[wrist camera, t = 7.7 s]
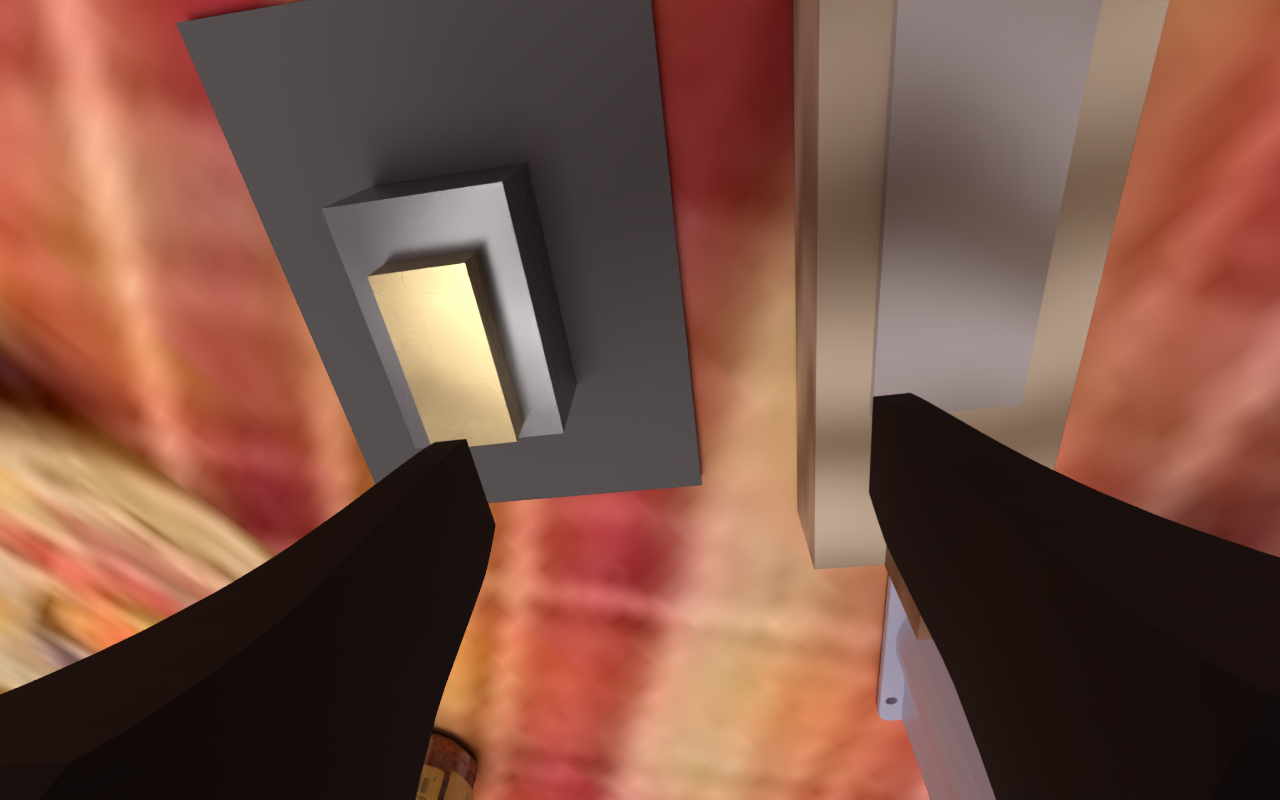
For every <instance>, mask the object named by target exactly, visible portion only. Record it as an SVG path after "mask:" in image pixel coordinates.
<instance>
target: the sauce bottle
mask: <svg viewBox="0 0 1280 800" xmlns="http://www.w3.org/2000/svg"><path fill="white" fill-rule="evenodd" d="M476 773H477V767H476V761H475V760H474V759H473V758H472V756H471V755H470V754H469V753H468V752H467V751H465V750H464V749H463V748H462V747H461V746H460V745H459V744H458V743H456V742H455V741H453V740H452V739H450V738H447V737H444V736H442V735H440V734H437V733H435V734H434V733H432V734H431V738H430V742H429V746H428V750H427V754H426V758H425V762H424V766H423V770H422V774H421V778H420V783H419V787H418V792H417V796H416V800H474V796H473V791H472V790H473V785H474V783H475V779H476Z"/></svg>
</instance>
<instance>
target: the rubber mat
mask: <svg viewBox="0 0 1280 800" xmlns="http://www.w3.org/2000/svg"><path fill="white" fill-rule="evenodd" d="M176 24H177V26H178V29H179V31H180V33H181V36H182V38H183V40H184V43H185V45H186V47H187V49H188V52H189V54H190V56H191V59H192V61H193V63H194V66H195V68H196V70H197V73H198V75H199V77H200V79H201V82H202V84H203V86H204V89H205V91H206V93H207V96H208V98H209V100H210V103H211V105H212V107H213V110H214V112H215V114H216V116H217V119H218V121H219V123H220V126H221V128H222V130H223V133H224V135H225V137H226V140H227V142H228V144H229V146H230V149H231V151H232V153H233V156H234V158H235V160H236V163H237V165H238V167H239V170H240V172H241V174H242V177H243V179H244V181H245V183H246V186H247V188H248V190H249V193H250V195H251V197H252V200H253V202H254V204H255V207H256V209H257V211H258V214H259V216H260V218H261V220H262V223H263V225H264V227H265V230H266V232H267V234H268V237H269V239H270V241H271V244H272V246H273V248H274V250H275V253H276V255H277V257H278V260H279V262H280V264H281V267H282V269H283V271H284V274H285V276H286V278H287V281H288V283H289V285H290V287H291V290H292V292H293V294H294V297H295V299H296V301H297V304H298V306H299V308H300V311H301V313H302V315H303V317H304V320H305V322H306V324H307V327H308V329H309V331H310V334H311V336H312V338H313V341H314V343H315V345H316V348H317V350H318V352H319V354H320V357H321V359H322V361H323V364H324V366H325V368H326V371H327V373H328V375H329V378H330V380H331V382H332V384H333V387H334V389H335V391H336V394H337V396H338V398H339V401H340V403H341V405H342V408H343V410H344V412H345V415H346V417H347V419H348V421H349V424H350V426H351V428H352V431H353V433H354V435H355V438H356V440H357V442H358V445H359V447H360V449H361V452H362V454H363V456H364V458H365V461H366V463H367V465H368V468H369V470H370V472H371V475H372V477H373V479H374V482H375V484H377V483H378V482H379V481H381V480H382V479H383V478H385V477H386V476H387V475H389V474H390V473H391V472H392V471H394V470H395V469H396V468H398V467H399V466H400V465H402V464H403V463H404V462H406V461H407V460H408V459H410V458H411V457H413V456H414V455H415V454H417V453H418V452H420V451H421V450H423V449H424V448H417V449H416V448H415V446H414V443H413V441H412V438H411V436H410V433H409V430H408V428H407V425H406V423H405V420H404V418H403V415H402V413H401V410H400V408H399V405H398V402H397V400H396V397H395V395H394V392H393V390H392V387H391V385H390V382H389V380H388V377H387V374H386V372H385V369H384V367H383V364H382V362H381V359H380V357H379V354H378V352H377V349H376V346H375V344H374V341H373V339H372V336H371V334H370V331H369V329H368V326H367V324H366V321H365V318H364V316H363V313H362V311H361V308H360V306H359V303H358V301H357V298H356V296H355V293H354V290H353V288H352V285H351V283H350V280H349V278H348V275H347V273H346V270H345V268H344V265H343V262H342V260H341V257H340V255H339V252H338V250H337V247H336V245H335V242H334V240H333V237H332V234H331V232H330V229H329V227H328V224H327V222H326V219H325V217H324V214H323V212H322V208H324V207H327V206H329V205H331V204H333V203H335V202H338V201H340V200H342V199H344V198H347V197H349V196H351V195H353V194H356V193H358V192H360V191H362V190H365V189H367V188H369V187H371V186H374V185H380V184H387V183H393V182H400V181H406V180H413V179H419V178H426V177H432V176H439V175H446V174H452V173H459V172H465V171H472V170H478V169H485V168H491V167H498V166H505V165H511V164H518V163H524V162H528V166H529V171H530V175H531V180H532V184H533V189H534V193H535V198H536V202H537V206H538V211H539V215H540V220H541V224H542V229H543V233H544V238H545V242H546V247H547V251H548V256H549V260H550V265H551V269H552V274H553V278H554V283H555V287H556V292H557V296H558V301H559V305H560V310H561V314H562V319H563V323H564V328H565V332H566V337H567V341H568V346H569V350H570V355H571V359H572V364H573V368H574V373H575V377H576V382H577V386H576V390H575V393H574V397H573V401H572V405H571V408H570V412H569V416H568V419H567V423H566V427H565V430H564V433H561V434H551V435H541V436H532V437H522V438H518V440H517V442H509V443H499V444H489V445H480V446H470V447H469V448H470V451H471V454H472V457H473V460H474V463H475V466H476V469H477V472H478V475H479V478H480V481H481V484H482V487H483V490H484V493H485V496H486V499H487V501H488V503H494V502H506V501H518V500H530V499H542V498H554V497H566V496H578V495H590V494H602V493H614V492H626V491H638V490H650V489H662V488H674V487H686V486H698V485H702V482H701V471H700V462H699V452H698V442H697V433H696V423H695V414H694V404H693V395H692V385H691V376H690V366H689V357H688V347H687V337H686V328H685V318H684V309H683V299H682V290H681V280H680V271H679V261H678V251H677V242H676V232H675V223H674V213H673V204H672V194H671V185H670V175H669V166H668V156H667V146H666V137H665V127H664V118H663V108H662V99H661V89H660V80H659V70H658V60H657V51H656V41H655V32H654V22H653V13H652V3H651V0H306V1H300V2H294V3H288V4H283V5H277V6H271V7H265V8H259V9H254V10H248V11H242V12H236V13H231V14H225V15H219V16H213V17H207V18H202V19H196V20H190V21H184V22H179V23H176Z"/></svg>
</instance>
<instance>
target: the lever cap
mask: <svg viewBox="0 0 1280 800" xmlns="http://www.w3.org/2000/svg"><path fill="white" fill-rule="evenodd" d="M322 212H323V214H324V217H325V219H326V222H327V224H328V227H329V229H330V232H331V234H332V237H333V240H334V242H335V245H336V247H337V250H338V252H339V255H340V257H341V260H342V262H343V265H344V268H345V270H346V273H347V275H348V278H349V280H350V283H351V285H352V288H353V290H354V293H355V296H356V298H357V301H358V303H359V306H360V308H361V311H362V313H363V316H364V318H365V321H366V324H367V326H368V329H369V331H370V334H371V336H372V339H373V341H374V344H375V346H376V349H377V352H378V354H379V357H380V359H381V362H382V364H383V367H384V369H385V372H386V374H387V377H388V380H389V382H390V385H391V387H392V390H393V392H394V395H395V397H396V400H397V402H398V405H399V408H400V410H401V413H402V415H403V418H404V420H405V423H406V425H407V428H408V430H409V433H410V436H411V438H412V441H413V443H414V446H415V448H416V449H417V448H426V447H427V446H429V445H431V444H432V443H434V442H440V441H450V440H459V439H467V442H468V445H469V447H470V446H480V445H489V444H499V443H509V442H517V440H518V438H522V437H532V436H541V435H551V434H561V433H564V430H565V427H566V423H567V419H568V416H569V412H570V408H571V405H572V401H573V397H574V393H575V390H576V386H577V382H576V377H575V373H574V368H573V364H572V359H571V355H570V350H569V346H568V341H567V337H566V332H565V328H564V323H563V319H562V314H561V310H560V305H559V301H558V296H557V292H556V287H555V283H554V278H553V274H552V269H551V265H550V260H549V256H548V251H547V247H546V242H545V238H544V233H543V229H542V224H541V220H540V215H539V211H538V206H537V202H536V198H535V193H534V189H533V184H532V180H531V175H530V171H529V166H528V162H524V163H518V164H511V165H505V166H498V167H491V168H485V169H478V170H472V171H465V172H459V173H452V174H446V175H439V176H432V177H426V178H419V179H413V180H406V181H400V182H393V183H387V184H380V185H374V186H371V187H369V188H367V189H365V190H362V191H360V192H358V193H356V194H353V195H351V196H349V197H347V198H344V199H342V200H340V201H338V202H335V203H333V204H331V205H329V206H327V207H324V208H322Z"/></svg>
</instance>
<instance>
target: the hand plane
mask: <svg viewBox="0 0 1280 800" xmlns="http://www.w3.org/2000/svg"><path fill="white" fill-rule="evenodd" d="M1168 4H1169V0H793V33H794V149H795V264H796V380H797V495H798V514H799V518H800V521H801V525H802V528H803V532H804V535H805V538H806V542H807V545H808V549H809V552H810V556H811V559H812V563H813V566H814V569H827V568H841V567H856V566H871V565H885V566H886V569H887V571H888V573H889V576H890V578H891V580H892V583H893V585H894V587H895V590H896V592H897V594H898V597H899V599H900V601H901V604H902V606H903V608H904V611H905V613H906V615H907V618H908V620H909V622H910V625H911V627H912V629H913V632H914V634H915V636H916V639H917V640H924V639H932V637H931V635H930V633H929V631H928V629H927V627H926V625H925V623H924V621H923V619H922V617H921V615H920V613H919V611H918V609H917V607H916V605H915V603H914V601H913V599H912V597H911V595H910V593H909V591H908V588H907V586H906V584H905V582H904V580H903V578H902V576H901V574H900V572H899V570H898V568H897V566H896V564H895V562H894V560H893V558H892V556H891V554H890V552H889V549H888V547H887V545H886V543H885V540H884V538H883V535H882V532H881V529H880V526H879V523H878V520H877V517H876V514H875V511H874V508H873V504H872V501H871V498H870V495H869V476H870V454H871V432H872V410H873V397H874V396H883V395H893V394H903V393H912V394H914V395H916V396H919V397H920V398H922V399H924V400H926V401H928V402H930V403H932V404H933V405H935V406H937V407H939V408H940V409H942V410H944V411H946V412H947V413H949V414H951V415H952V416H954V417H956V418H958V419H959V420H961V421H963V422H965V423H966V424H968V425H970V426H972V427H973V428H975V429H977V430H979V431H980V432H982V433H984V434H986V435H987V436H989V437H991V438H993V439H995V440H996V441H998V442H1000V443H1002V444H1004V445H1006V446H1007V447H1009V448H1011V449H1013V450H1015V451H1017V452H1019V453H1020V454H1022V455H1024V456H1026V457H1028V458H1030V459H1032V460H1034V461H1036V462H1038V463H1040V464H1042V465H1044V466H1046V467H1048V468H1050V469H1052V470H1054V468H1055V464H1056V460H1057V456H1058V452H1059V448H1060V444H1061V440H1062V435H1063V431H1064V427H1065V423H1066V419H1067V415H1068V411H1069V407H1070V403H1071V399H1072V395H1073V391H1074V387H1075V383H1076V379H1077V374H1078V370H1079V366H1080V362H1081V358H1082V354H1083V350H1084V346H1085V342H1086V338H1087V334H1088V330H1089V326H1090V322H1091V318H1092V313H1093V309H1094V305H1095V301H1096V297H1097V293H1098V289H1099V285H1100V281H1101V277H1102V273H1103V269H1104V265H1105V261H1106V256H1107V252H1108V248H1109V244H1110V240H1111V236H1112V232H1113V228H1114V224H1115V220H1116V216H1117V212H1118V208H1119V204H1120V200H1121V195H1122V191H1123V187H1124V183H1125V179H1126V175H1127V171H1128V167H1129V163H1130V159H1131V155H1132V151H1133V147H1134V143H1135V139H1136V134H1137V130H1138V126H1139V122H1140V118H1141V114H1142V110H1143V106H1144V102H1145V98H1146V94H1147V90H1148V86H1149V82H1150V78H1151V73H1152V69H1153V65H1154V61H1155V57H1156V53H1157V49H1158V45H1159V41H1160V37H1161V33H1162V29H1163V25H1164V21H1165V17H1166V12H1167V8H1168Z"/></svg>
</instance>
